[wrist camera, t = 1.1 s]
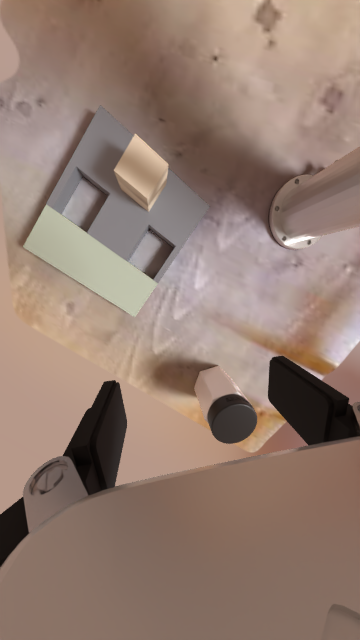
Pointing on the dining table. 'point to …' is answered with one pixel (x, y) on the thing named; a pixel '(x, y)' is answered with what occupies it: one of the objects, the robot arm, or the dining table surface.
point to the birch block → (141, 173)
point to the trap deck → (112, 221)
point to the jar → (224, 406)
